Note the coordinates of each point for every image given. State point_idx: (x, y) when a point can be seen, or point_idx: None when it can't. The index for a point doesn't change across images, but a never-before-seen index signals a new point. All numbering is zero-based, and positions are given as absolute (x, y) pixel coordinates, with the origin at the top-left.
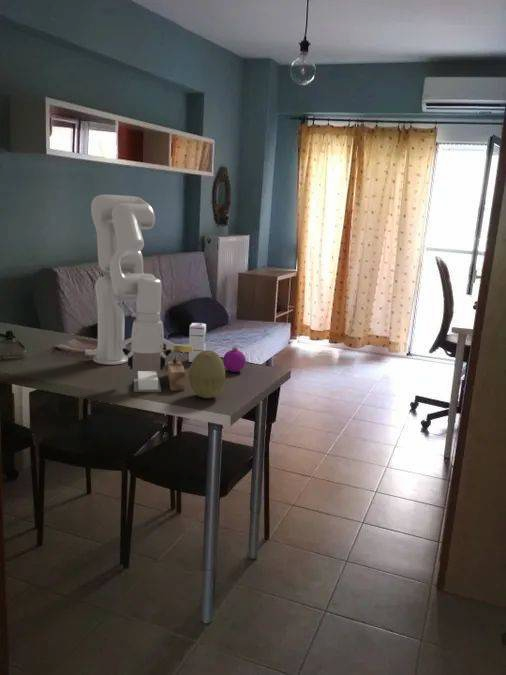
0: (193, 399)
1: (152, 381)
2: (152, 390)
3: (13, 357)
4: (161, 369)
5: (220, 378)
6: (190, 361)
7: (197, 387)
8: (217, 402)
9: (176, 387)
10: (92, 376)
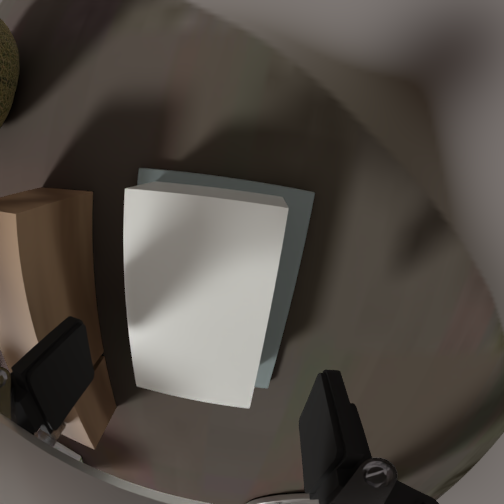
0: (44, 55)
1: (172, 191)
2: (191, 174)
3: (456, 479)
4: (76, 318)
5: None
6: (76, 456)
7: (3, 22)
8: None
9: (59, 191)
10: (403, 425)
